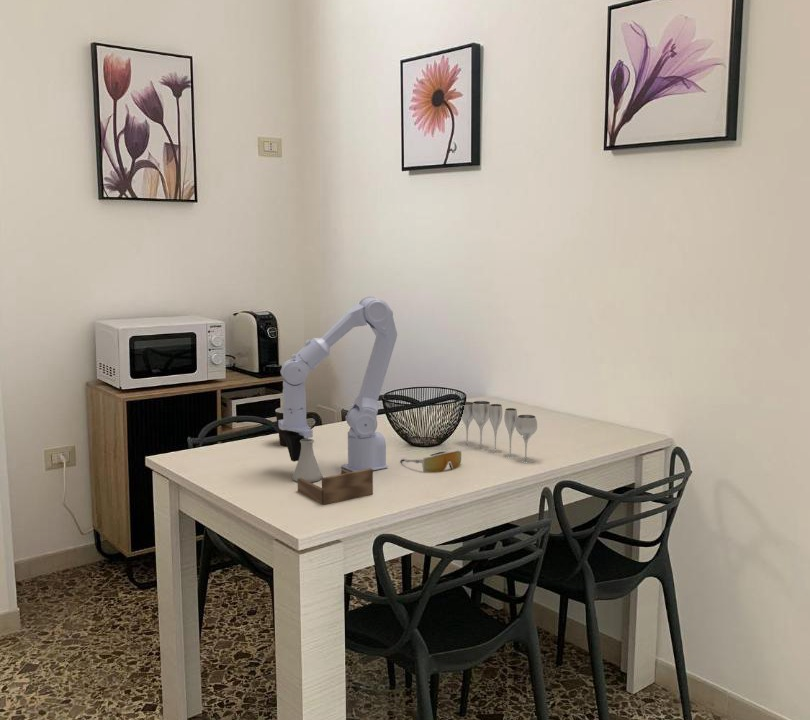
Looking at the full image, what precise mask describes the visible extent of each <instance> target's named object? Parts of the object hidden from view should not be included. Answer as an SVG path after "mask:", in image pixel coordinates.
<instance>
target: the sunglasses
mask: <svg viewBox="0 0 810 720" xmlns="http://www.w3.org/2000/svg"><path fill="white" fill-rule="evenodd" d="M399 461H400V463H403V462H405V463H415V464H421V465H422V471H423V472H424V473H438V472H445V471H446V470H447V467H448V466H449V468H450V469H451V470H455V469H457V468H458V467H460V466H461V464H462V463H461V461H462V450H459V449H458V450H457V449H456V450H451V451H450V450H449V451H448V450H442V451H437V452H434V453H431V454H429V456H427V457H426V456H425V457H423V458H419V459H418V458H417V459H406V458H402V459H401V460H399Z"/></svg>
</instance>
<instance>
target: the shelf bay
mask: <svg viewBox="0 0 810 720" xmlns="http://www.w3.org/2000/svg"><path fill="white" fill-rule="evenodd" d="M373 473H374V470H373V469H371V468H369V469H364V470H359V471H354V472H352V471H350V470H348V469H345V468H343V469H341V470H340V473H339V474H335V475H330V476H325V477H323V478H322V479H321V486H318V485H316V484H315V483H314V482H308V481H306V480H304V479H302V478H298V479H297V481H296V482H297V492H299V493H301V494H303V495H305V496H306V497H308V498H309V499H312V500H314V501H316V502H318V503H320V504H321V505H324V506H326V505H330V504H334V503H339V502H343V501H348V500H353V499H357V498H363V497H367V496H371V495H374V478H373V477H374V474H373Z"/></svg>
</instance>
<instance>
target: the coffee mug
mask: <svg viewBox="0 0 810 720" xmlns="http://www.w3.org/2000/svg"><path fill="white" fill-rule="evenodd" d="M309 416H314V417H316V421H315V423H314V424H313V425H311V427H309V428H310V429H312V430H313V429H314V428H315V427H316V426H317V425H318V423H319V421H320V420H319V419H320V418H319V416H318V414H317V413H314V412H310V413H309V412H308V413H306V420H307V419H308V417H309ZM275 418H276V423H277V424H276V425H277V431H278V439H279V445H280V446H282V447H287V445H286V442H285V440H284V438H283V437H282V433H287V430H281V429H279V423H278V420H283V407H278V408H276V409H275ZM287 448H288V447H287Z"/></svg>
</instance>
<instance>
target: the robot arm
mask: <svg viewBox="0 0 810 720" xmlns="http://www.w3.org/2000/svg"><path fill="white" fill-rule="evenodd" d="M367 325H369V326H370V328H371V330H372V332H373V334H374V335H375V338H374V339H375V340H374V343H373V346H372V349H371V353H370V357H369V360H368V363H367V367H366V370H365V373H364V377H363V380H362V383H361V386H360V391H359V393H358V395H357V397H356V398H355V399H354V402H353V404H352V407H350V408H349V410H348V411H347V413H346V417H345V420H346V423H347V425H348V426H349V427H350V428H349V429H348V431H347V463H345V464H341V468H343V469H345V470H347V471H349V472H354V471H359V470H364V469H369V468H371V469H373V471H377V470H383V469H387V468H389V466H388V465H387V445H386V443H387V442H386V438H385V437H384V435H383V433H381V432H379V431H376V430H377V428H378V419H377V416H378V412H379V406H378V405H379V404H378V401H379V398H380V395H381V392H382V387H383V385H384V382H385V381H384V380H385V377H386V374H387V372H388V368H389V366H390V365H389V364H390V361H391V358H392V354H393V352H394V348H395V345H396V343H397V338H398V330H397V328H396V323H395V320H394V312H393V310H392V309H391V308H390V306H389V304H388V303H387V302H386V301H384V300H383V299H380V298H376V297H374V296H366V297H364V298H362V299H361V300H360V301H359V303H356V304H354V305H353V306H352V307H350V308H349V310H348V311H347V312H346V313H345V314H344V315H342V317H341V318H339V320H338V321H337V322H336V323H335V324H334V325H332V327H330V328H329V330H327V331H326V332H325V334H324V335H322V336H321V337H312V339H311V340H310V339H309V338H308V339H307V340H306V341H305V346H303V347H302V348H301V349H300V350H299V351H298V352H297V353H292V354H291V355H290V357H291V358H290V359H288V360H286V361H284V363H282V365H281V369H280V370H279V372H280V375H281V377H282V378H283V380H282V408H283V420H278V423H279V429H281V430H287V433H282V437H283V438H284V440H285V442H286V445H287V450H288V453H289V458H290V461H292V462H298V460H299V457H300V452H301V443H300V440H301V439H306V438H308V439H312V438H313V437H314V436H313V435H314V433H313V428H312V429H310V428H311V427H310V426H309V425H308V423H307V419H306V415H307V393H306V392H307V390H306V380H307V379H308V375H309V373H310V372H313V370H314V369H316V367H318V366H319V365H320V364H321V363H322V362H323V361H324V360H325V359H327V358H328V357H329V356H330V350H331V347H333V345H335V344H336V343H338V341H340V339H342V338H343V337H344V336H345V335H346V334H347V333H349V332H350V331H351V330H352V329H353V328H356V327H357V328H358V327H364V326H367Z"/></svg>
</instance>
